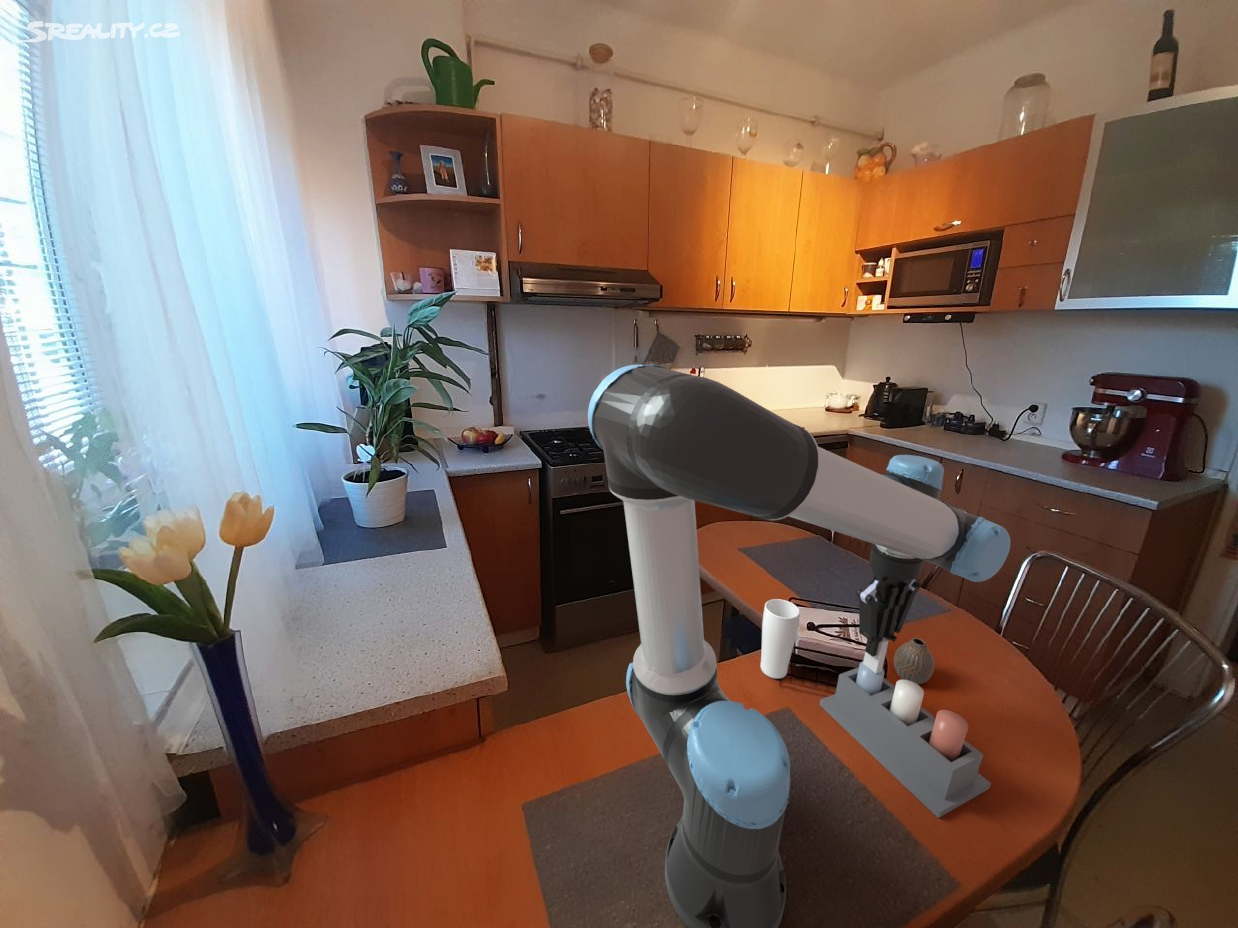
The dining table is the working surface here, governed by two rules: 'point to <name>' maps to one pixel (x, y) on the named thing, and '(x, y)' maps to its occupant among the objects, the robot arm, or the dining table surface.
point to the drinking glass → (778, 636)
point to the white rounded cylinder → (907, 701)
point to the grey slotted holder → (906, 746)
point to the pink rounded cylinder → (948, 734)
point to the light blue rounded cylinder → (869, 679)
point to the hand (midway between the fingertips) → (872, 667)
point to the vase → (914, 661)
